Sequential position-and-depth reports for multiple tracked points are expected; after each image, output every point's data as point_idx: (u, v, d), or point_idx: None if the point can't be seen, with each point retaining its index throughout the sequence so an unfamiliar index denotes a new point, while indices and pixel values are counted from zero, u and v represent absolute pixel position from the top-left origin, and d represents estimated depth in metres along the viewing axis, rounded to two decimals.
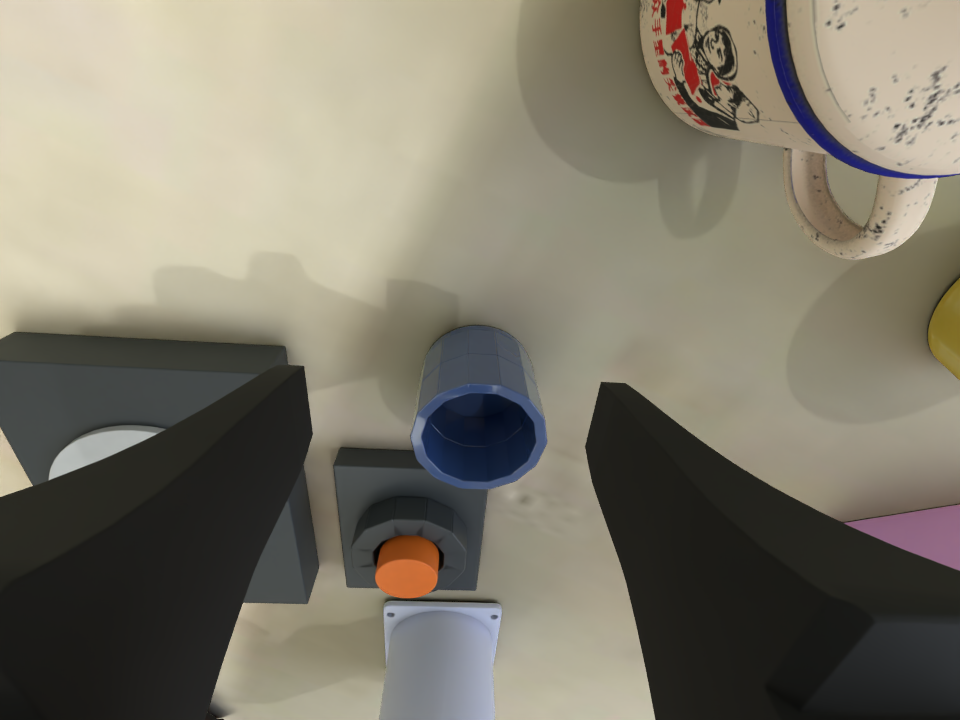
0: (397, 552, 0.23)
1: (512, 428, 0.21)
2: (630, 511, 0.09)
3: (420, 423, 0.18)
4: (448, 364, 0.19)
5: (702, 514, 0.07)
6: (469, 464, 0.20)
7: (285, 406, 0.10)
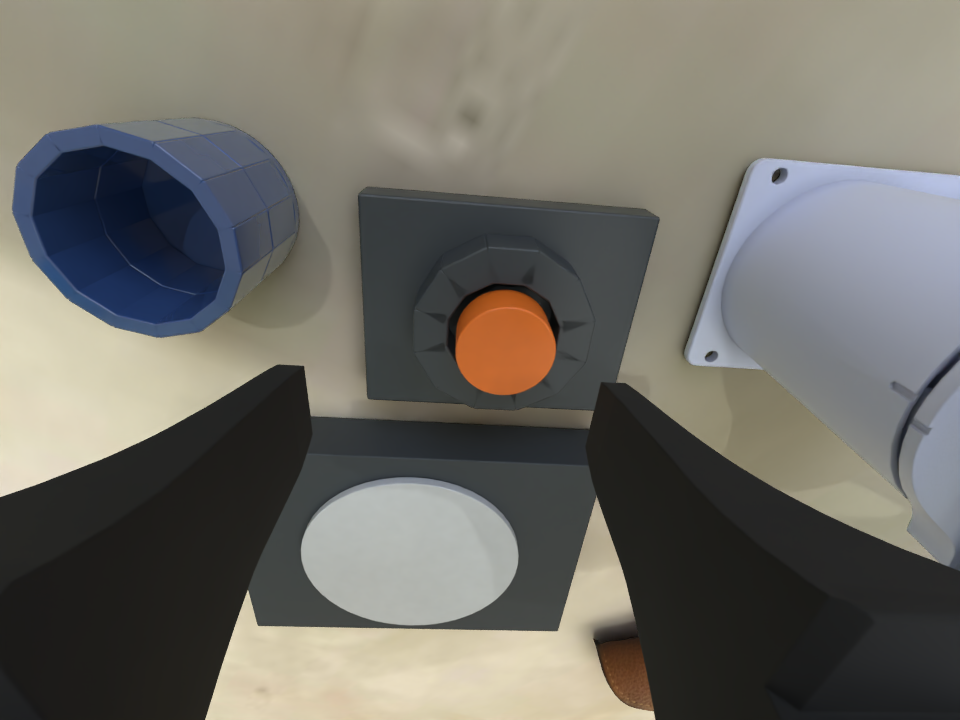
0: None
1: None
2: (630, 511, 0.09)
3: (128, 324, 0.13)
4: None
5: (702, 514, 0.07)
6: None
7: (285, 406, 0.10)
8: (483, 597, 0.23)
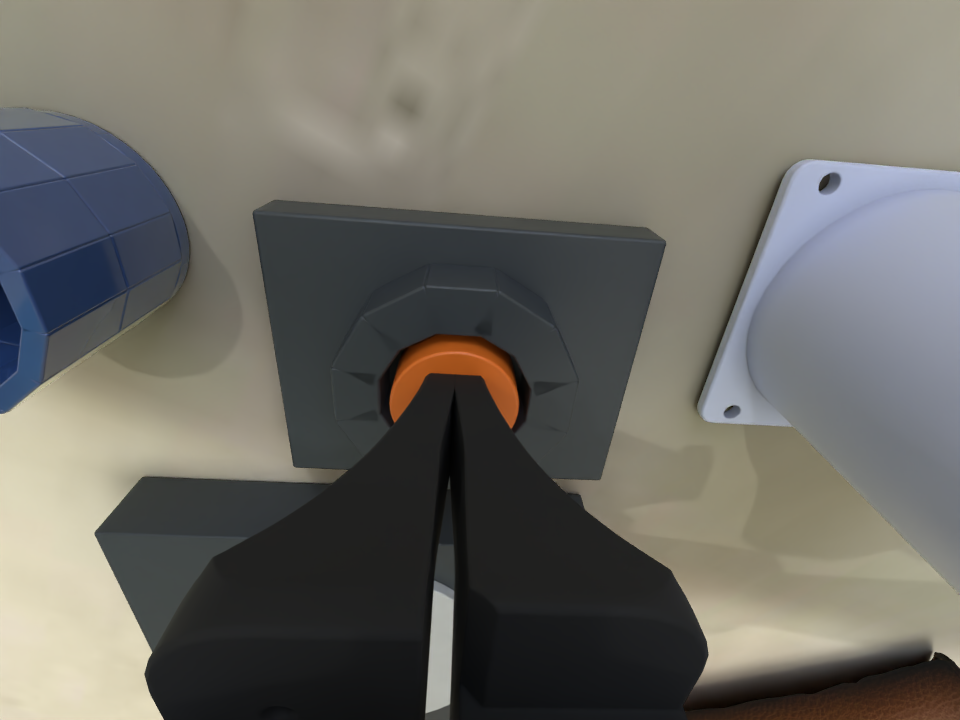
0: None
1: None
2: (456, 505, 0.09)
3: None
4: None
5: (463, 506, 0.07)
6: None
7: (451, 414, 0.10)
8: None
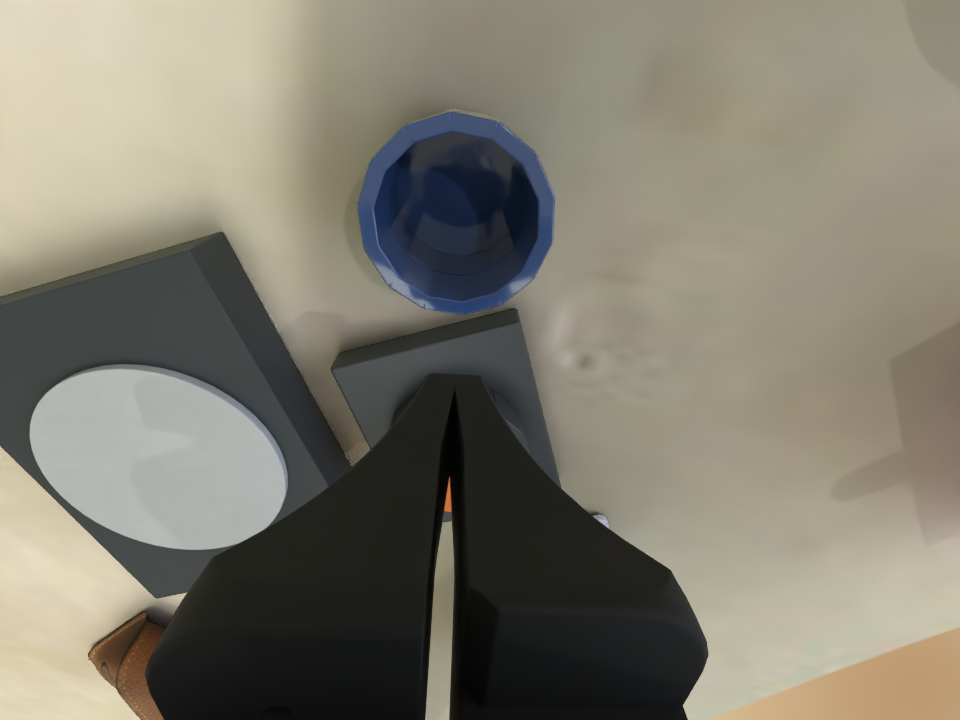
0: None
1: (519, 233, 0.15)
2: (456, 505, 0.09)
3: (367, 221, 0.12)
4: None
5: (464, 506, 0.07)
6: (470, 286, 0.14)
7: (451, 414, 0.10)
8: (160, 538, 0.21)
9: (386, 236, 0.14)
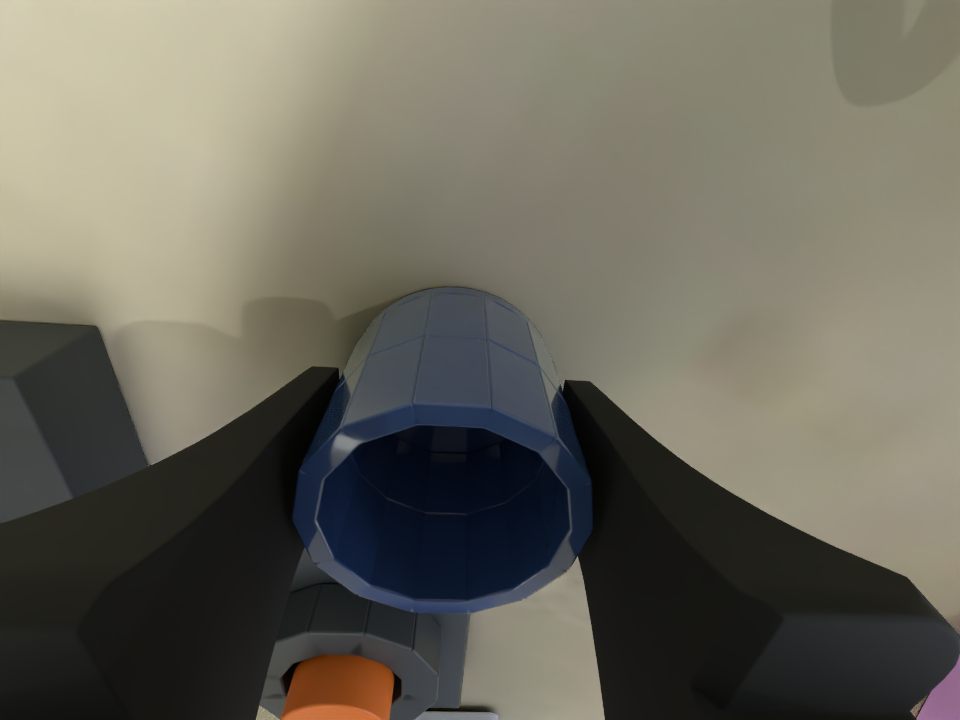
0: (316, 688, 0.13)
1: (516, 480, 0.11)
2: None
3: (309, 491, 0.08)
4: (381, 358, 0.09)
5: (644, 513, 0.07)
6: (432, 557, 0.10)
7: (323, 408, 0.10)
8: None
9: (334, 476, 0.09)
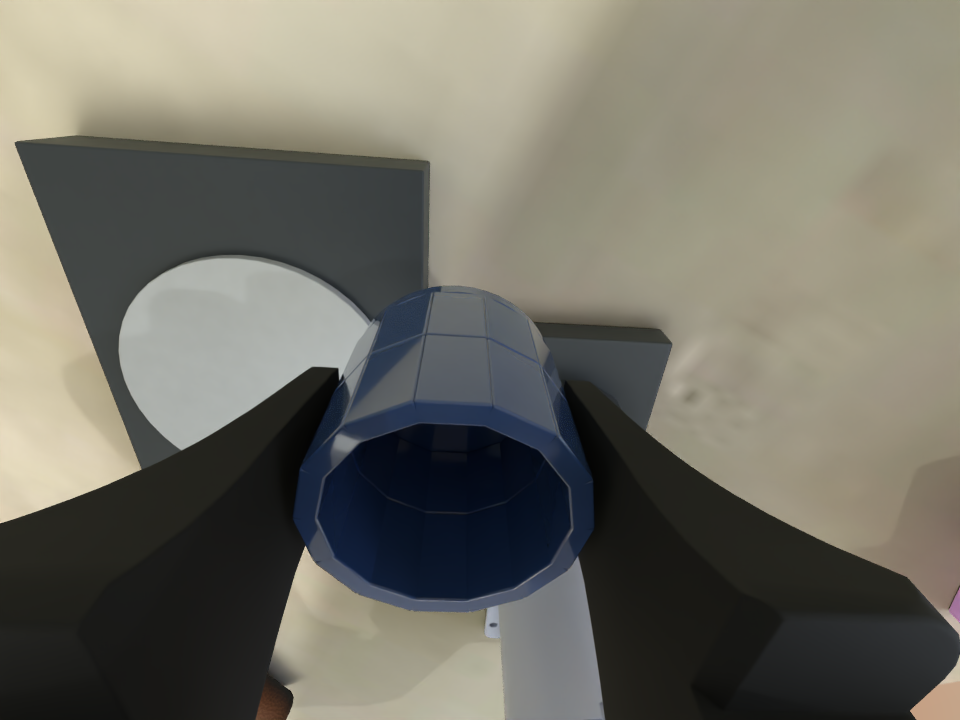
0: None
1: (517, 479, 0.11)
2: None
3: (310, 490, 0.08)
4: (382, 357, 0.09)
5: (644, 513, 0.07)
6: (432, 555, 0.10)
7: (323, 408, 0.10)
8: None
9: (334, 474, 0.09)
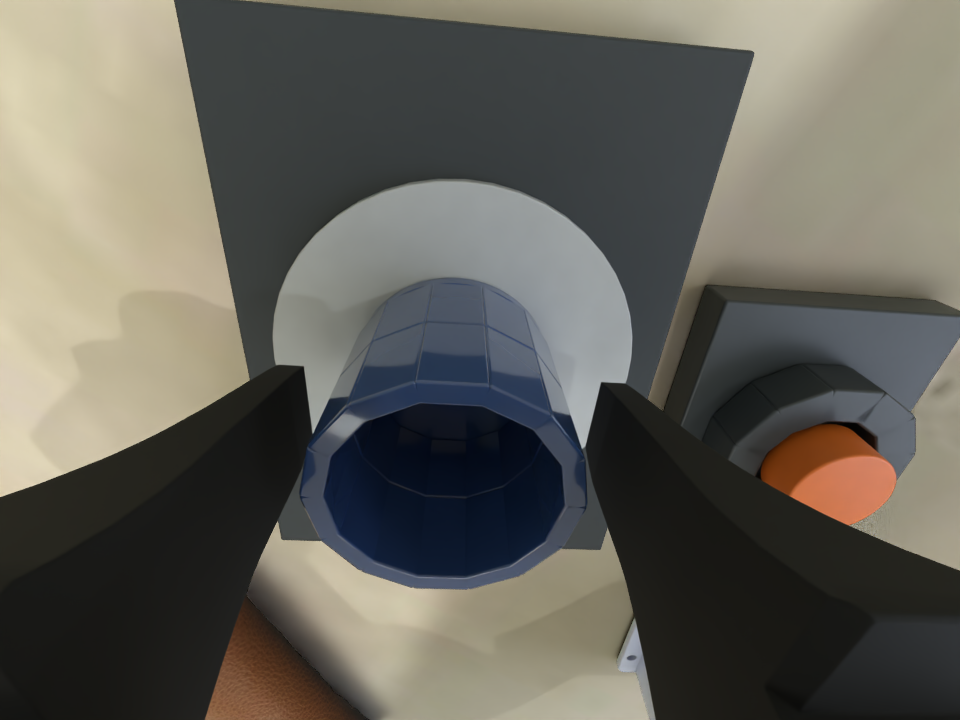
0: (838, 446, 0.14)
1: (514, 464, 0.12)
2: (630, 511, 0.09)
3: (316, 468, 0.08)
4: (385, 343, 0.09)
5: (702, 514, 0.07)
6: (433, 536, 0.11)
7: (285, 406, 0.10)
8: None
9: (339, 456, 0.10)
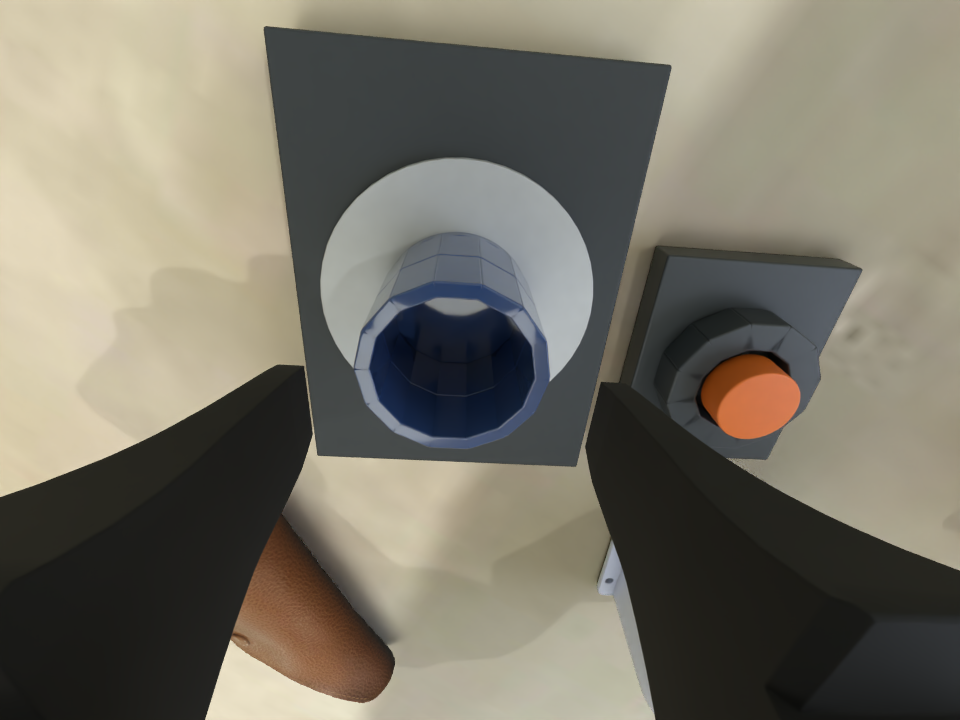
0: (755, 368, 0.18)
1: (502, 371, 0.16)
2: (630, 511, 0.09)
3: (366, 346, 0.12)
4: (410, 268, 0.13)
5: (702, 514, 0.07)
6: (442, 416, 0.15)
7: (285, 406, 0.10)
8: None
9: (377, 350, 0.14)
